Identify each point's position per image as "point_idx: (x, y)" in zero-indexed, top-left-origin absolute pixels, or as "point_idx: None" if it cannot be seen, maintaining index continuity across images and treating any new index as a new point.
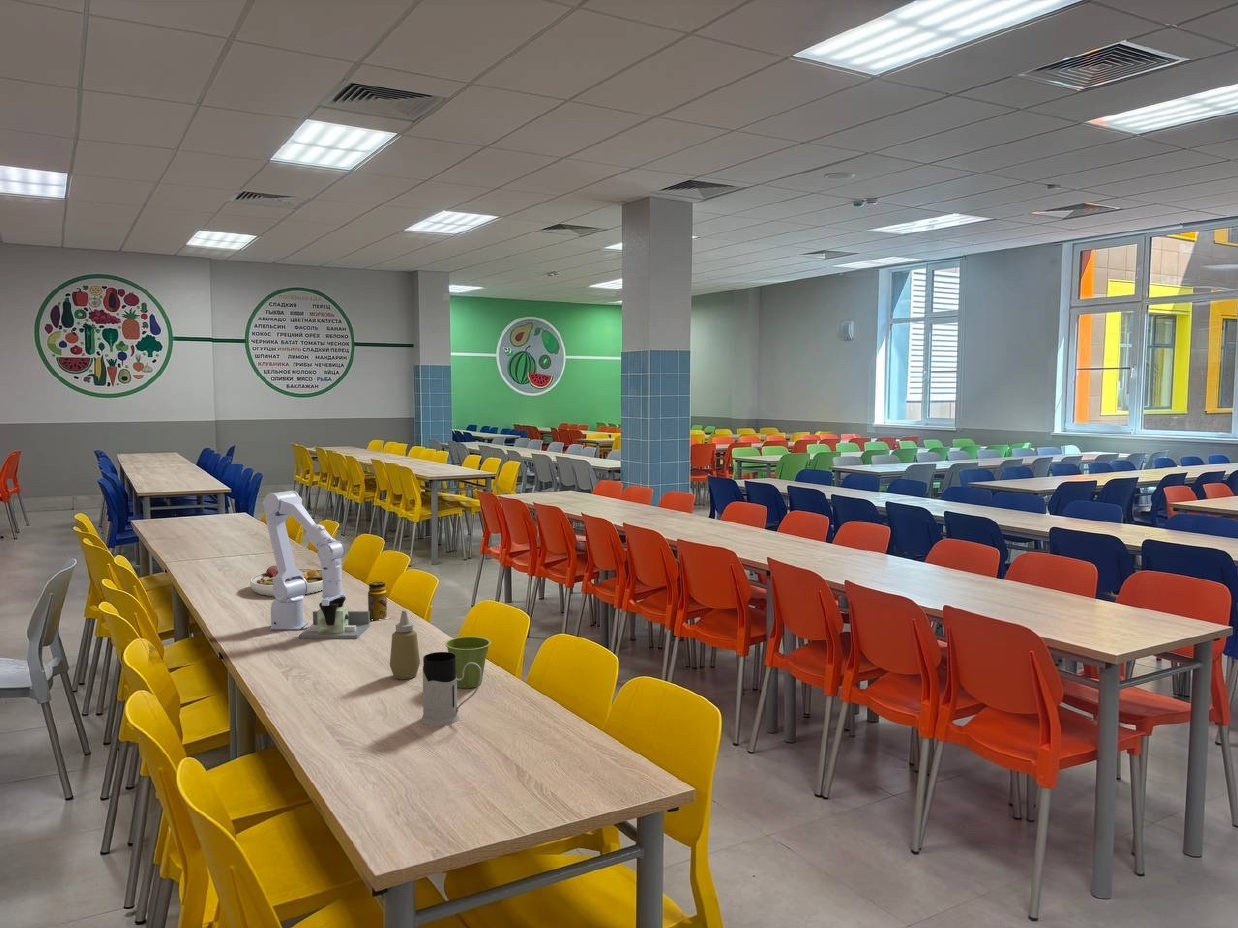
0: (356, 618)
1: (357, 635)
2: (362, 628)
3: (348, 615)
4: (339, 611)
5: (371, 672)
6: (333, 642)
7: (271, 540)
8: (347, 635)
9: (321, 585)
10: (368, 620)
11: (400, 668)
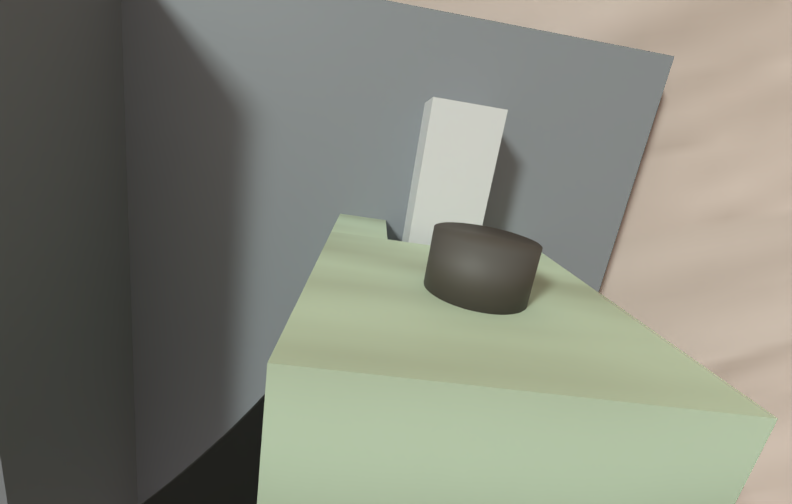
0: (67, 138)
1: (661, 55)
2: (355, 23)
3: (500, 243)
4: (720, 493)
5: None
6: (704, 292)
7: None
8: (633, 180)
9: None
10: None
11: None
